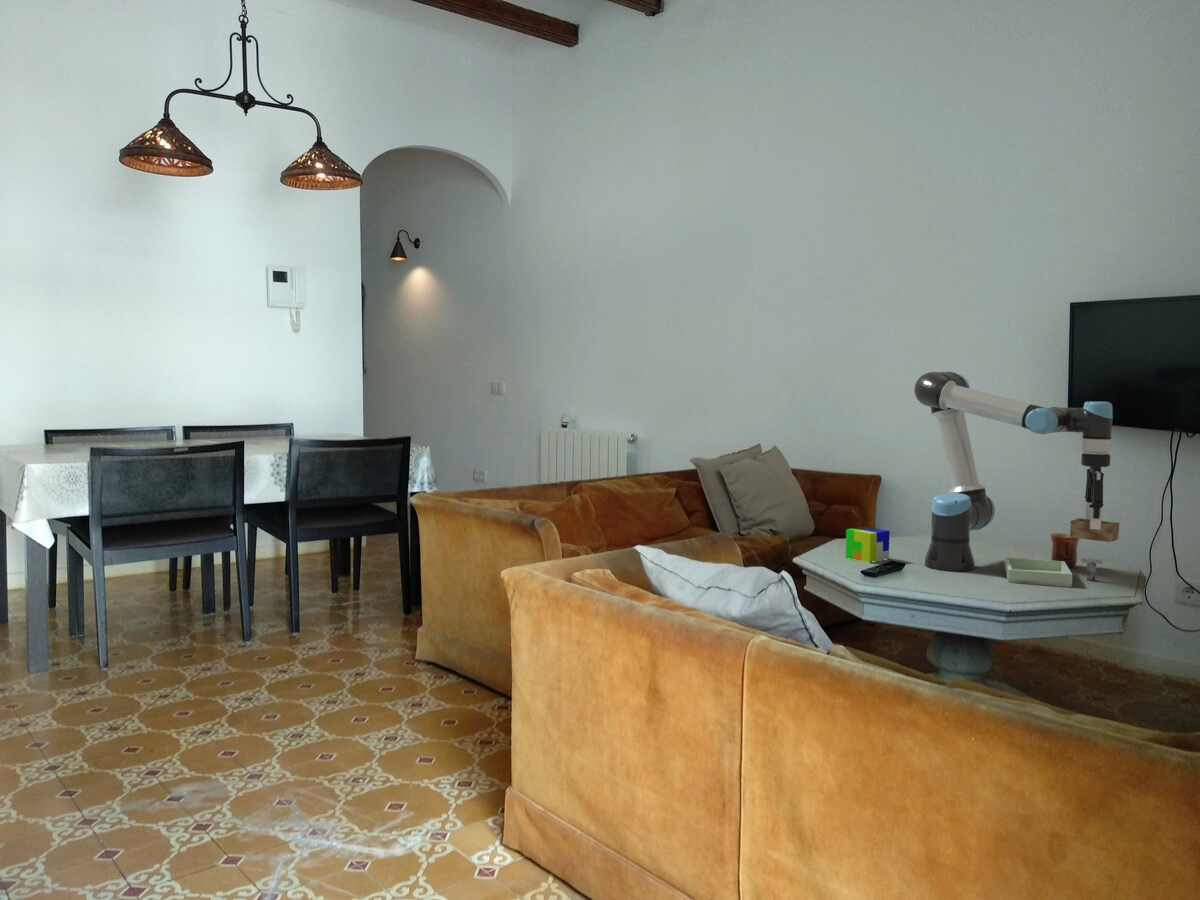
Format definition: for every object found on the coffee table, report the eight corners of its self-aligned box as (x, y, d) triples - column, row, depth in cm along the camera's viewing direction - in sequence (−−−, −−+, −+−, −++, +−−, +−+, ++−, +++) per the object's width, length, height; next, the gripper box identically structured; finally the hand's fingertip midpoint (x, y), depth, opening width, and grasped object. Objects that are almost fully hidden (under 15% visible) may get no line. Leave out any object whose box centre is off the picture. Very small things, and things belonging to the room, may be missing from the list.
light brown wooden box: (1118, 538, 261) (1119, 522, 260) (1110, 542, 255) (1111, 525, 255) (1078, 534, 269) (1079, 518, 268) (1070, 537, 263) (1070, 520, 263)
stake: (1081, 580, 263) (1082, 558, 263) (1080, 578, 265) (1081, 557, 265) (1101, 581, 261) (1102, 560, 261) (1100, 580, 263) (1101, 558, 263)
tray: (1008, 582, 261) (1008, 569, 261) (1004, 568, 279) (1004, 557, 279) (1071, 587, 255) (1072, 574, 254) (1063, 573, 273) (1064, 561, 273)
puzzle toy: (888, 559, 294) (889, 530, 293) (869, 563, 288) (870, 533, 288) (864, 555, 302) (865, 526, 301) (845, 558, 297) (846, 529, 296)
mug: (1045, 563, 289) (1046, 532, 288) (1073, 564, 287) (1075, 533, 286) (1056, 570, 277) (1057, 539, 276) (1086, 571, 275) (1087, 540, 274)
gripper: (1117, 456, 249) (1113, 533, 250) (1104, 450, 269) (1100, 521, 271) (1087, 455, 251) (1083, 531, 253) (1076, 449, 272) (1073, 520, 274)
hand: (1092, 526), depth 262 cm, fingers closed on light brown wooden box, 10 cm apart
